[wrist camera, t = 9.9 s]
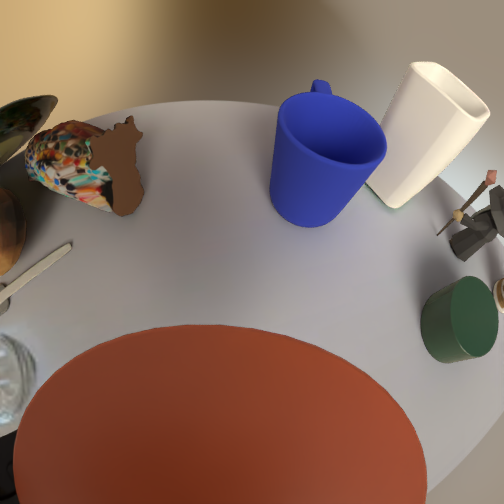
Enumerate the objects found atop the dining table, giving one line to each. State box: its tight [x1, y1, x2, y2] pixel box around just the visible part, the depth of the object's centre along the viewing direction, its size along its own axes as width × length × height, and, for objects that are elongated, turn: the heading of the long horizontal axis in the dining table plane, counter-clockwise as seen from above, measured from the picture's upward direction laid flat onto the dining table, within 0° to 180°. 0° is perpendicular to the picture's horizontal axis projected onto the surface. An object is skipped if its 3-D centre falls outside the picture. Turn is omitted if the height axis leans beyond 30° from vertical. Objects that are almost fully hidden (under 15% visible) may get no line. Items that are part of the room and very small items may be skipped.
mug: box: [270, 79, 387, 228], centre depth 24 cm, size 8×12×10 cm
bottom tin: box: [421, 276, 499, 363], centre depth 21 cm, size 8×8×4 cm
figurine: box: [25, 116, 144, 216], centre depth 24 cm, size 9×9×15 cm
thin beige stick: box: [0, 243, 72, 316], centre depth 20 cm, size 18×1×3 cm
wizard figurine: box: [437, 170, 504, 262], centre depth 22 cm, size 8×6×12 cm
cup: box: [365, 62, 490, 208], centre depth 23 cm, size 7×7×15 cm
